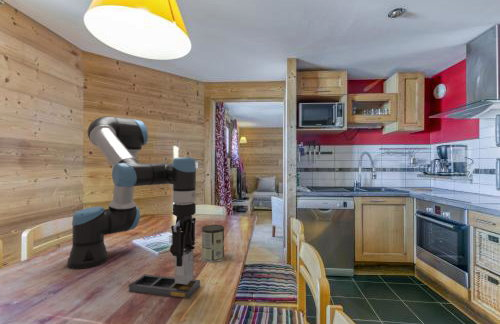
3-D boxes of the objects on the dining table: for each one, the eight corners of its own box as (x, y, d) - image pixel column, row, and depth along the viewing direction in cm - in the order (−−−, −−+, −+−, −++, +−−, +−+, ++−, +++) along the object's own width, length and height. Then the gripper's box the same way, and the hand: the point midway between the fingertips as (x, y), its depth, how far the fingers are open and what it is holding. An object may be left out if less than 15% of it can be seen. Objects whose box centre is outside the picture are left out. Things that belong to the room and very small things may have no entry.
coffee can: (209, 252, 123) (209, 223, 123) (228, 255, 118) (228, 226, 118) (196, 260, 113) (197, 228, 113) (216, 264, 109) (216, 231, 109)
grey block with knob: (174, 283, 84) (174, 252, 84) (181, 277, 88) (181, 248, 88) (187, 284, 83) (187, 253, 83) (193, 278, 87) (193, 249, 87)
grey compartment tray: (128, 292, 85) (128, 285, 85) (144, 281, 93) (144, 274, 93) (189, 300, 80) (189, 292, 80) (200, 287, 89) (200, 280, 89)
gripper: (182, 207, 76) (182, 285, 76) (204, 199, 93) (204, 262, 93) (160, 206, 78) (159, 282, 78) (185, 198, 95) (185, 260, 95)
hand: (184, 271), depth 85 cm, fingers closed on grey block with knob, 4 cm apart
